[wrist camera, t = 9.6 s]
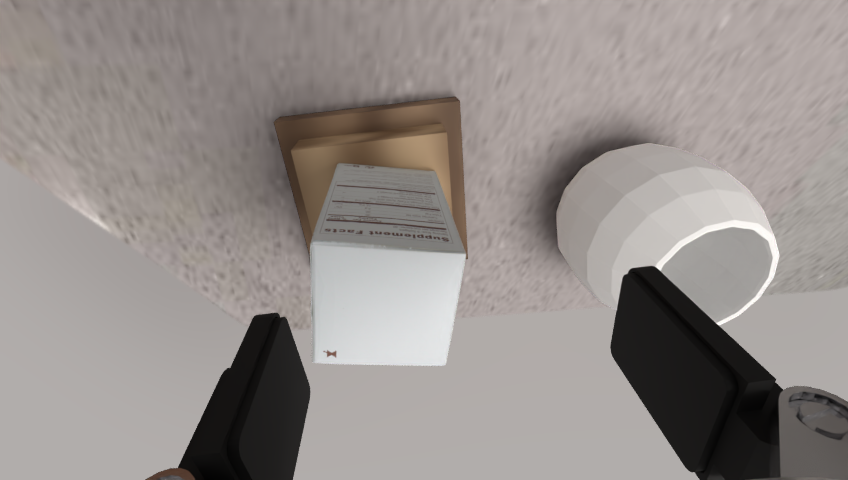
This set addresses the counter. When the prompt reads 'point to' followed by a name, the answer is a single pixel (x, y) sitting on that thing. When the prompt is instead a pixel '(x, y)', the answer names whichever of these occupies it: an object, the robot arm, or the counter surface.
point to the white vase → (667, 228)
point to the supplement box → (384, 269)
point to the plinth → (376, 122)
